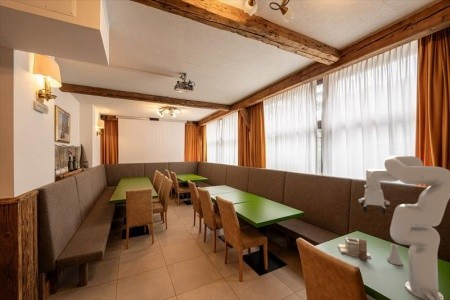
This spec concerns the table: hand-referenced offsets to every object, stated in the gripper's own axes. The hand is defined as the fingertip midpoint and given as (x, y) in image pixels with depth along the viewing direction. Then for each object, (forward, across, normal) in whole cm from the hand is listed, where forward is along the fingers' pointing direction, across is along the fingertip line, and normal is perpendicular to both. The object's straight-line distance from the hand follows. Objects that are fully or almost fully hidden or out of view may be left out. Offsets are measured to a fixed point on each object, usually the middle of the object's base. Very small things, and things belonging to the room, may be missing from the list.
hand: (374, 213), depth 128 cm
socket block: (+26, -13, -3) cm, 30 cm away
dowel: (+26, -10, -12) cm, 31 cm away
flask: (+27, +7, -9) cm, 29 cm away
